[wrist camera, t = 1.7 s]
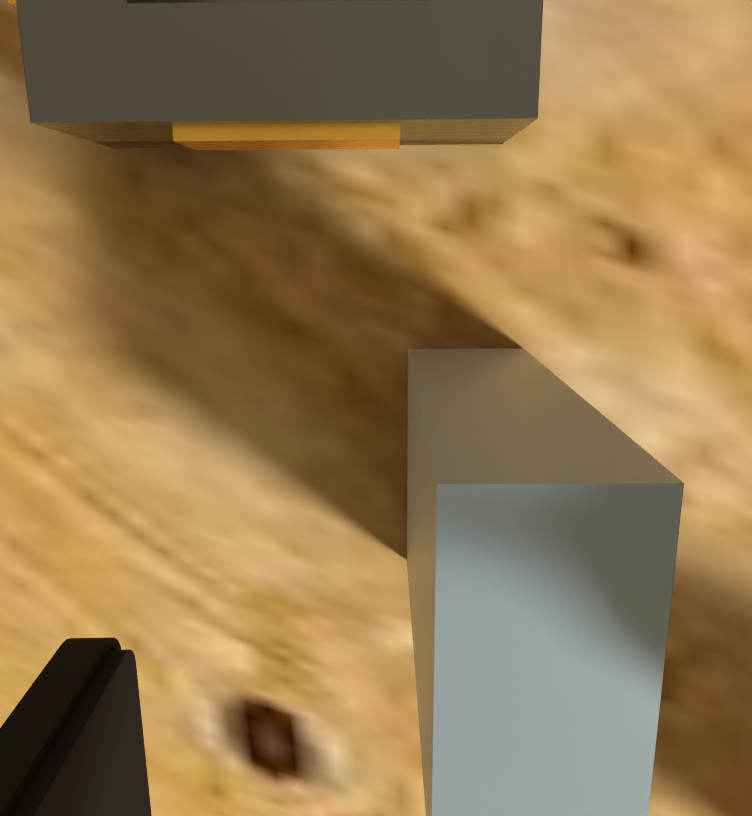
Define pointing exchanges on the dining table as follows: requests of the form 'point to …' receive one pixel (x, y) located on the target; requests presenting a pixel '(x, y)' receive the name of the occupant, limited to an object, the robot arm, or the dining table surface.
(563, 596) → the block
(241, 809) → the dining table surface
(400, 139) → the rack
